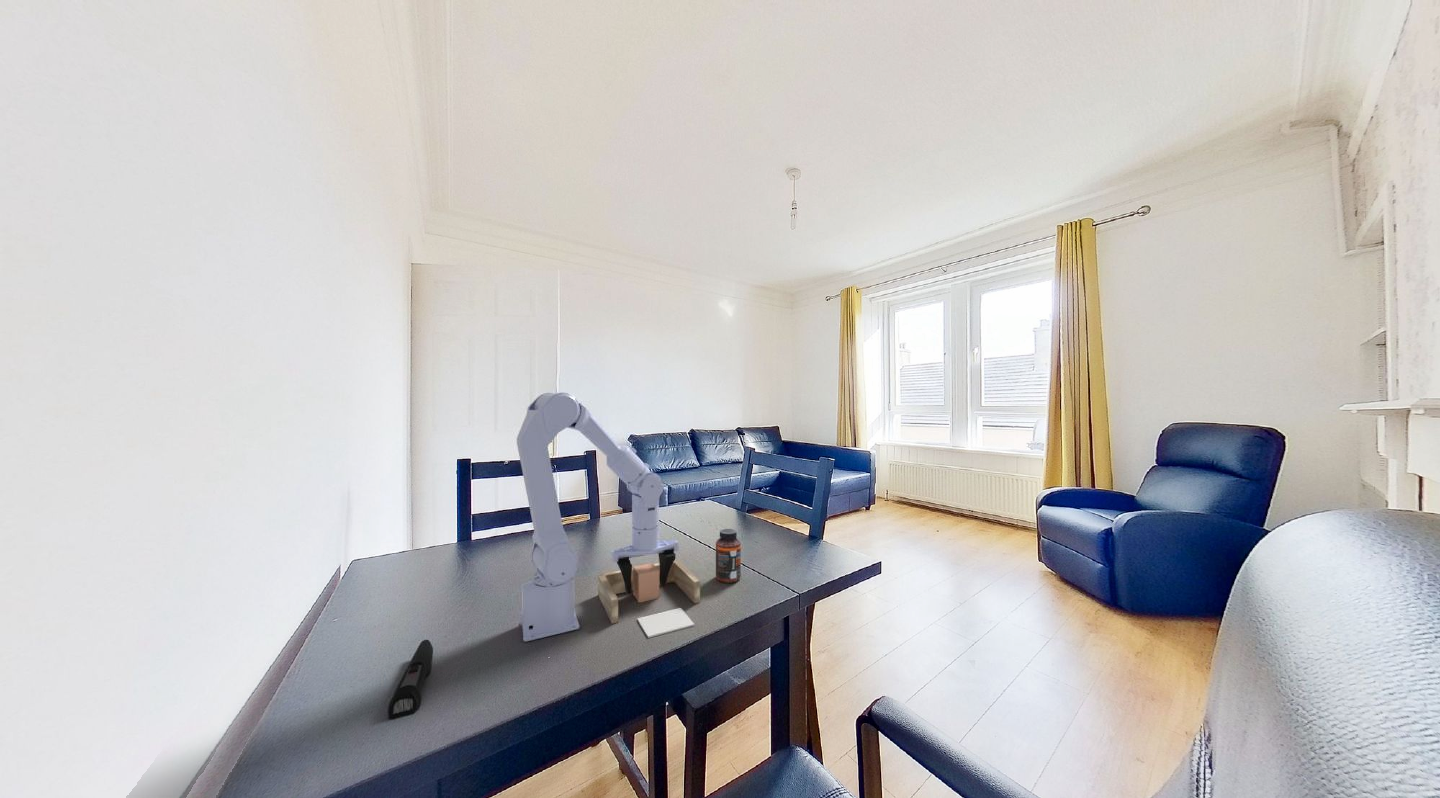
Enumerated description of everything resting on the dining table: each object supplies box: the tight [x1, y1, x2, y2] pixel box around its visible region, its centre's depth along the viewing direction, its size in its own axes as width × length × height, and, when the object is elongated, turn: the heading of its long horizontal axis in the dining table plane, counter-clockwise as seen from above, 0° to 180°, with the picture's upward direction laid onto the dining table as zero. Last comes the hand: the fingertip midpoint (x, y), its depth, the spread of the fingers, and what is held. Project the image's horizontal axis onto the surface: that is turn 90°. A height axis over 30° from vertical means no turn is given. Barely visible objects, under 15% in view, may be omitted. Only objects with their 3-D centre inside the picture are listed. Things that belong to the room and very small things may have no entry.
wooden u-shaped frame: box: [597, 559, 701, 624], centre depth 92 cm, size 18×13×4 cm
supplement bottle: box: [715, 528, 742, 584], centre depth 102 cm, size 6×6×11 cm
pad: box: [636, 607, 695, 639], centre depth 82 cm, size 9×7×1 cm
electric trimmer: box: [387, 639, 434, 720], centre depth 65 cm, size 4×16×3 cm, turn 24°
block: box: [632, 562, 660, 603], centre depth 93 cm, size 4×4×6 cm
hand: (645, 588), depth 93 cm, fingers open, 7 cm apart
